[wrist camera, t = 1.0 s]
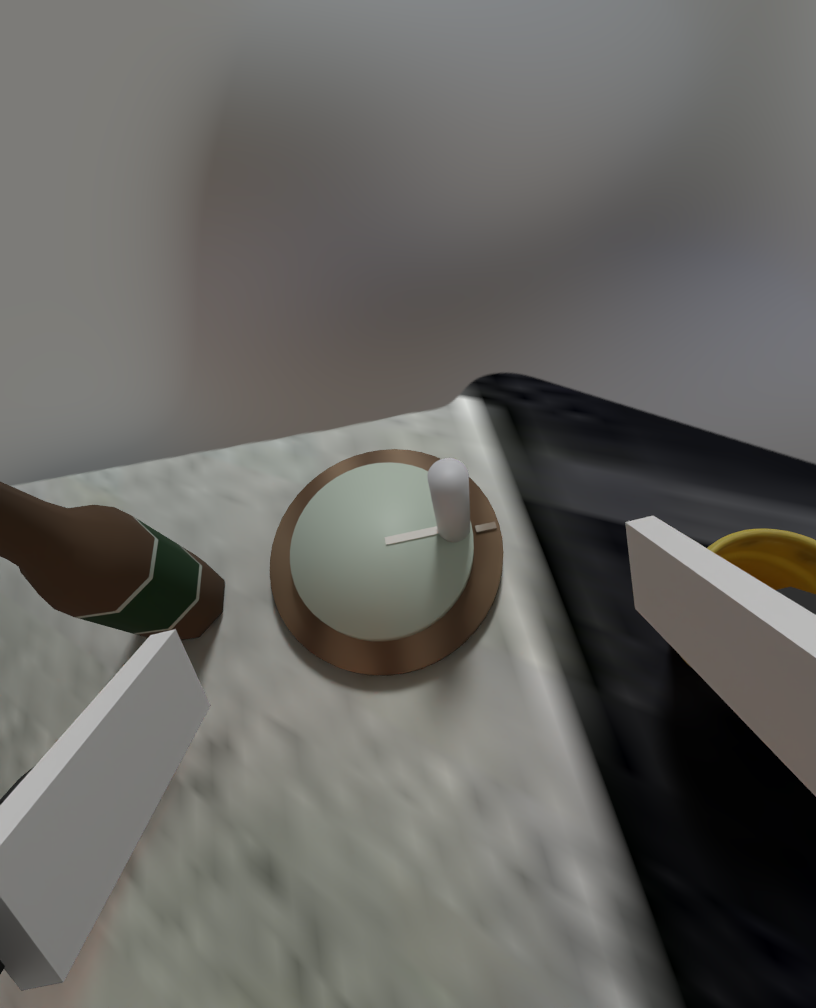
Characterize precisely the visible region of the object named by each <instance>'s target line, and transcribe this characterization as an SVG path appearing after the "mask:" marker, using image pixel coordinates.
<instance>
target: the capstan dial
mask: <svg viewBox="0 0 816 1008" xmlns="http://www.w3.org/2000/svg"><path fill="white" fill-rule="evenodd" d="M473 556H474V543H473V531H472V525H471V521H470V502H469V474H468V470H467V467H466V466H465V465H464V464H463V463H462V462H461V461H459V460H457V459H454V458H444V459H440V460H438V461H436V462H435V463H434V464H433V465H432V466H431V467H430V469H429V471H426V470H424V469H422V468H419V467H416V466H412V465H408V464H403V463H391V462H387V463H375V464H369V465H365V466H361V467H358V468H355V469H352V470H350V471H347V472H345V473H343V474H342V475H340V476H338V477H336V478H335V479H333V480H332V481H330V482H329V483H327V484H326V485H325V486H324V487H323V488H322V489H320V490H319V491H318V492H317V493H316V494H315V496H314V497H313V498H312V499H311V500H310V501H309V503H308V504H307V505H306V507H305V508H304V510H303V512H302V513H301V515H300V517H299V519H298V521H297V524H296V526H295V529H294V532H293V536H292V540H291V547H290V567H291V574H292V577H293V581H294V584H295V587H296V589H297V591H298V594H299V595H300V597H301V599H302V600H303V602H304V603H305V605H306V606H307V607H308V608H309V610H310V611H311V612H312V613H313V614H314V615H315V616H316V617H318V618H319V619H320V620H321V621H322V622H324V623H325V624H327V625H328V626H330V627H331V628H333V629H334V630H336V631H338V632H340V633H342V634H344V635H346V636H349V637H352V638H356V639H359V640H366V641H392V640H398V639H402V638H405V637H409V636H412V635H414V634H416V633H419V632H421V631H423V630H425V629H426V628H428V627H430V626H432V625H433V624H434V623H436V622H437V621H438V620H440V619H441V618H442V617H443V616H444V615H445V614H446V613H447V612H448V611H449V610H450V609H451V608H452V607H453V606H454V604H455V603H456V602H457V600H458V599H459V597H460V596H461V594H462V592H463V590H464V589H465V587H466V584H467V582H468V579H469V577H470V573H471V569H472V565H473Z"/></svg>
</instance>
